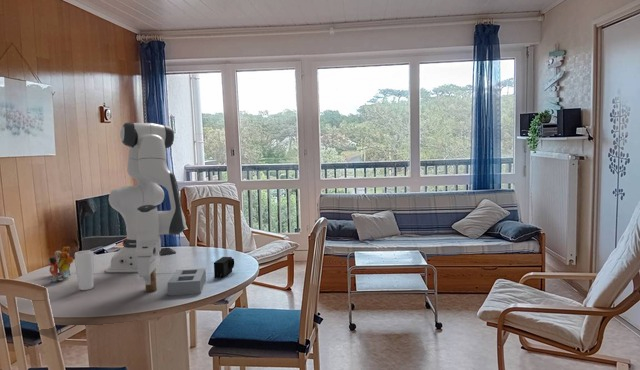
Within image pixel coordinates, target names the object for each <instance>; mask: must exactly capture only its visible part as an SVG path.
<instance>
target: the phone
mask: <svg viewBox="0 0 640 370" xmlns="http://www.w3.org/2000/svg"><path fill="white" fill-rule="evenodd" d="M176 254H177V252H176V251H175V250H174V249H173V248H170V247H163V248H162V247H161V251H159V255H160V256H161V257H162V256H163V257H164V256H168V255H176Z"/></svg>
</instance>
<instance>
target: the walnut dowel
mask: <svg viewBox="0 0 640 370" xmlns="http://www.w3.org/2000/svg"><path fill="white" fill-rule="evenodd" d="M156 272H157V269H156V270H155V269H154V270H153V272H152V273H151V276H150V278H151V284H150V285H146V282H144V284H145V292H146V293H153V292H156V291H157V290H158V289H157V273H156Z"/></svg>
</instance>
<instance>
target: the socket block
mask: <svg viewBox="0 0 640 370" xmlns="http://www.w3.org/2000/svg"><path fill="white" fill-rule="evenodd" d="M206 272H207V271H206V268H204V267H203V268H188V269H186V268H185V269H175V271H174V272H173V274H172V275H171V277H170V278H169V280H167V281H168V282H167V296H181V295H183V296H185V295H196V294H197V295H199V294H201V293H202V290H203V288H204V285H205V283H206V281H207V276H206Z"/></svg>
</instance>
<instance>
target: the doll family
mask: <svg viewBox="0 0 640 370" xmlns="http://www.w3.org/2000/svg"><path fill="white" fill-rule="evenodd" d="M70 248H71V247H70V246H63V248H62V249H61V250H62V251H61V250H56V251H55V252H54V253H53V254H54V255H55V257H54V256H52V257H49V259H48V264H50V267H49V270H48V271H49V273H50V274H51V275H52V276H51V277H52V278H51V281H49V285H52V284H57V283H59V282H60V279H59V276H61V277H62V279H61V282H66V281H69V280H70V279H71V278H70V276H71V272H70V268H71V264H73V263H74V261H75V257H74V258H73V257H71V256H70V254H69V253H70Z"/></svg>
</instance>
